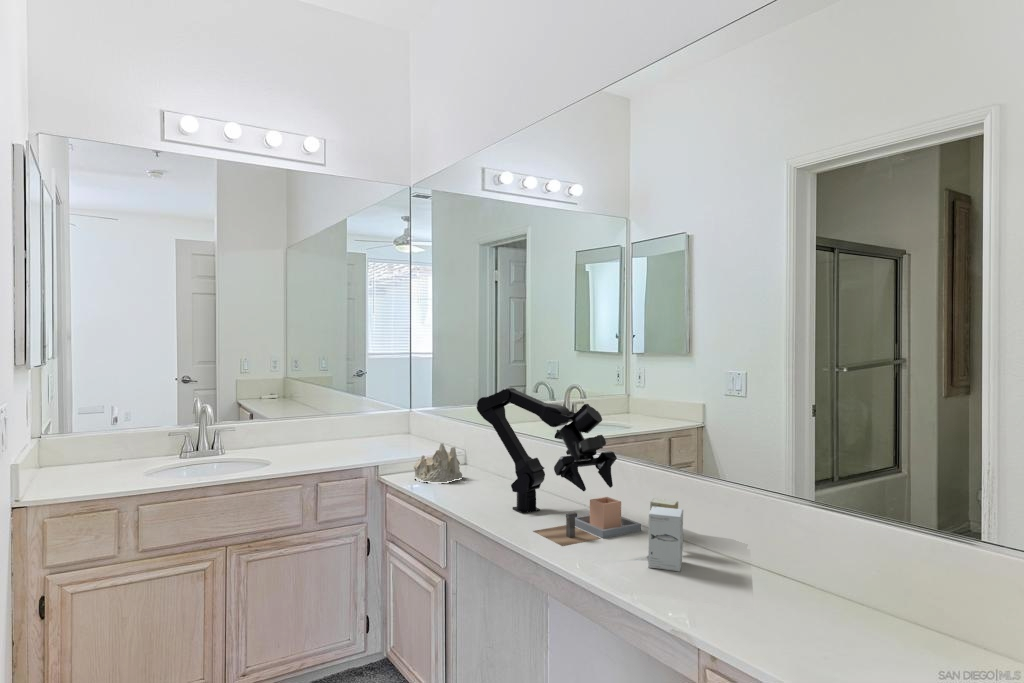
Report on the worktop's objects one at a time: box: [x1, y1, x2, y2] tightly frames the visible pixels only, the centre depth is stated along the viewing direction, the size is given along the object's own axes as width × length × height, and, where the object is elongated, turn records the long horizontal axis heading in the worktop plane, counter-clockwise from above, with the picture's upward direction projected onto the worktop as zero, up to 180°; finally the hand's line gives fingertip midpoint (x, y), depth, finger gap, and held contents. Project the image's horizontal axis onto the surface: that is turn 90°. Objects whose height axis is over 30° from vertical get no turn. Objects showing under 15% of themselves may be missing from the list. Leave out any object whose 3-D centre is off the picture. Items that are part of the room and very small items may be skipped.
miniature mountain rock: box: [413, 442, 463, 482], centre depth 233 cm, size 16×16×15 cm
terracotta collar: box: [589, 496, 622, 530], centre depth 168 cm, size 8×6×8 cm
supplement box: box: [647, 506, 684, 573], centre depth 143 cm, size 7×7×13 cm
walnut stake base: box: [532, 511, 602, 547], centre depth 161 cm, size 14×12×8 cm
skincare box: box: [649, 497, 679, 512], centre depth 153 cm, size 6×4×12 cm
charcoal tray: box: [575, 514, 642, 539], centre depth 167 cm, size 14×13×3 cm
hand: (598, 488), depth 170 cm, fingers open, 9 cm apart
